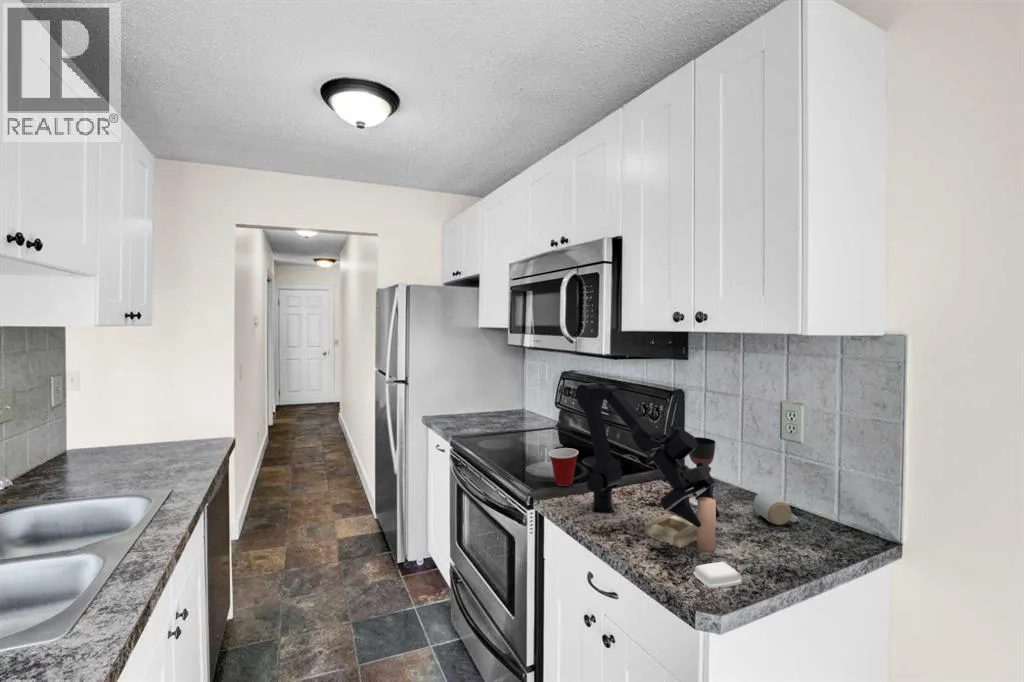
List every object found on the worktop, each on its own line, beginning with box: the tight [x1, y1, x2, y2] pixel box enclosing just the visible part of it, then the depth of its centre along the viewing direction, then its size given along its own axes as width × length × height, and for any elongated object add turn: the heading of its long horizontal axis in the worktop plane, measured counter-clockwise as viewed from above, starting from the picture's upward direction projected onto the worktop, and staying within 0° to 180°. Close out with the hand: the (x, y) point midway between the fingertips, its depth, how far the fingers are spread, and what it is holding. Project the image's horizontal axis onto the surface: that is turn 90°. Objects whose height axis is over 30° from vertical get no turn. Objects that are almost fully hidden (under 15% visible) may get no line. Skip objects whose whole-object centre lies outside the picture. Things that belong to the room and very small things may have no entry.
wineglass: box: [688, 436, 716, 506], centre depth 156 cm, size 8×9×20 cm
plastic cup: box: [548, 447, 579, 485], centre depth 173 cm, size 11×11×12 cm
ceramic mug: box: [753, 490, 799, 526], centre depth 142 cm, size 11×8×8 cm
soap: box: [692, 561, 742, 589], centre depth 110 cm, size 9×7×3 cm
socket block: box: [644, 513, 697, 549], centre depth 132 cm, size 11×11×3 cm
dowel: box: [696, 497, 717, 553], centre depth 125 cm, size 4×4×12 cm
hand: (709, 521), depth 124 cm, fingers open, 9 cm apart
